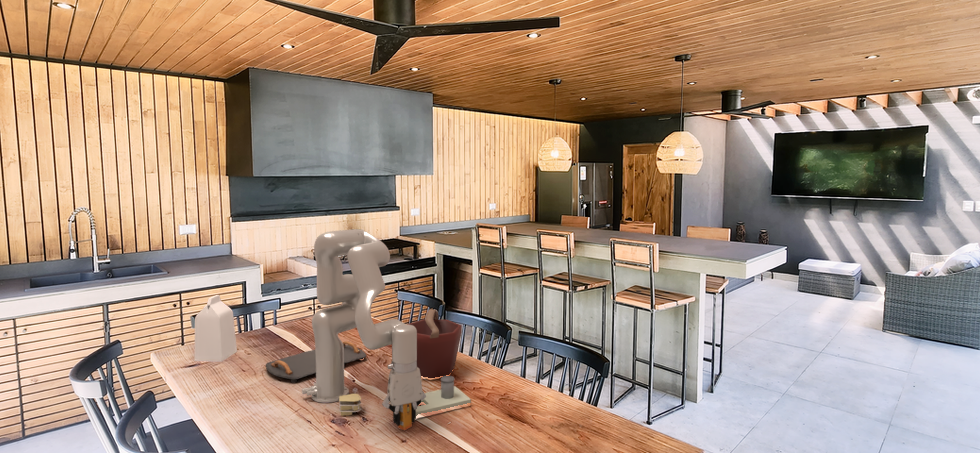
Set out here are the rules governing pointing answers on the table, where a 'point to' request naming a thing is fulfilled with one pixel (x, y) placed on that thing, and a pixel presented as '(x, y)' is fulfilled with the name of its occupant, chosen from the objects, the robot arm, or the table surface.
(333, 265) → the robot arm
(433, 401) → the caddy
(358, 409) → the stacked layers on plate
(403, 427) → the supplement box
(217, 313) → the milk
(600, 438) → the table surface
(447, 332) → the bucket
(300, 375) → the serving board
